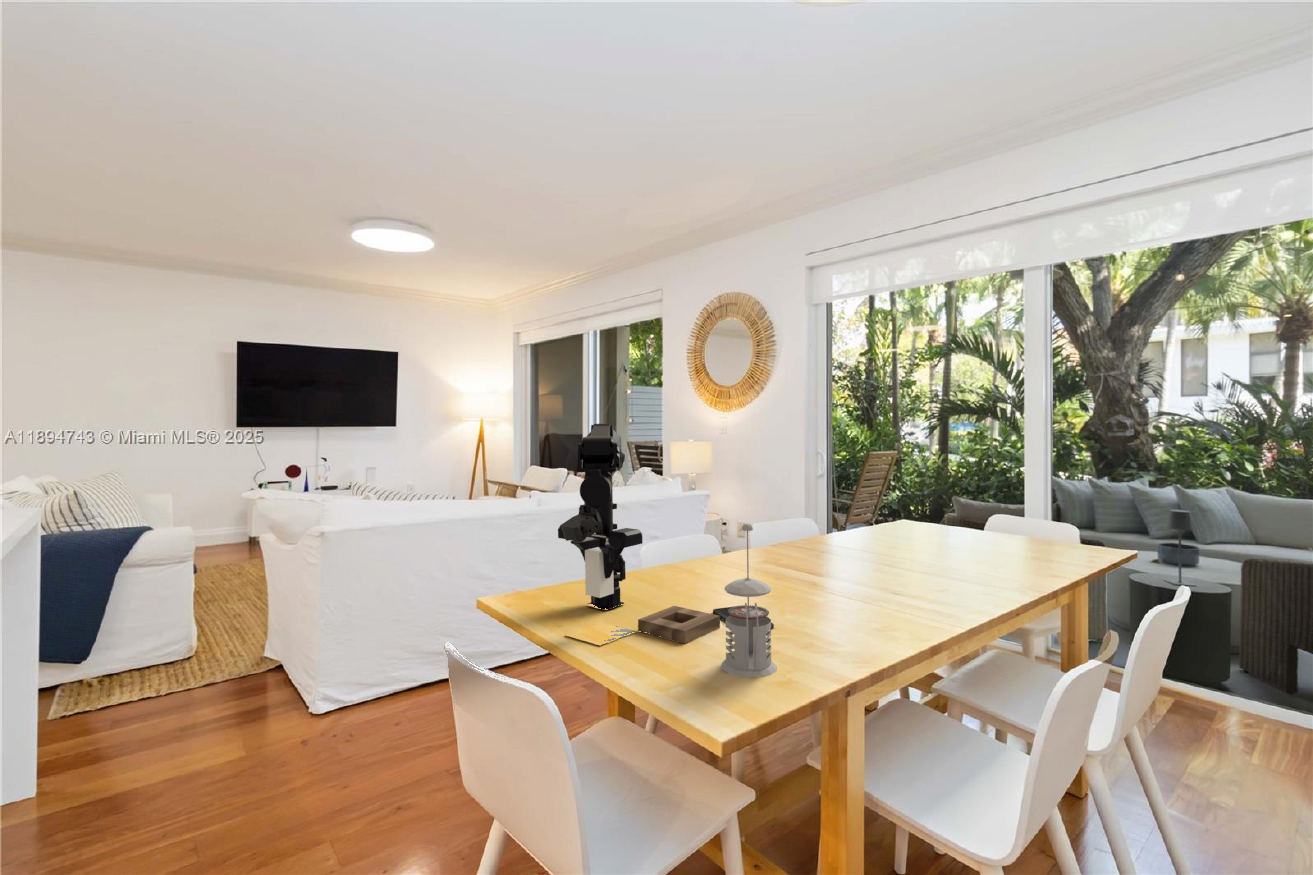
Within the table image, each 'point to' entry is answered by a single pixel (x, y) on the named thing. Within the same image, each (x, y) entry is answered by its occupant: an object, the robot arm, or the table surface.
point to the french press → (748, 630)
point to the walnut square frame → (679, 624)
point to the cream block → (597, 574)
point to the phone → (727, 614)
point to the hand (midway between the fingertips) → (599, 576)
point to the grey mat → (621, 634)
